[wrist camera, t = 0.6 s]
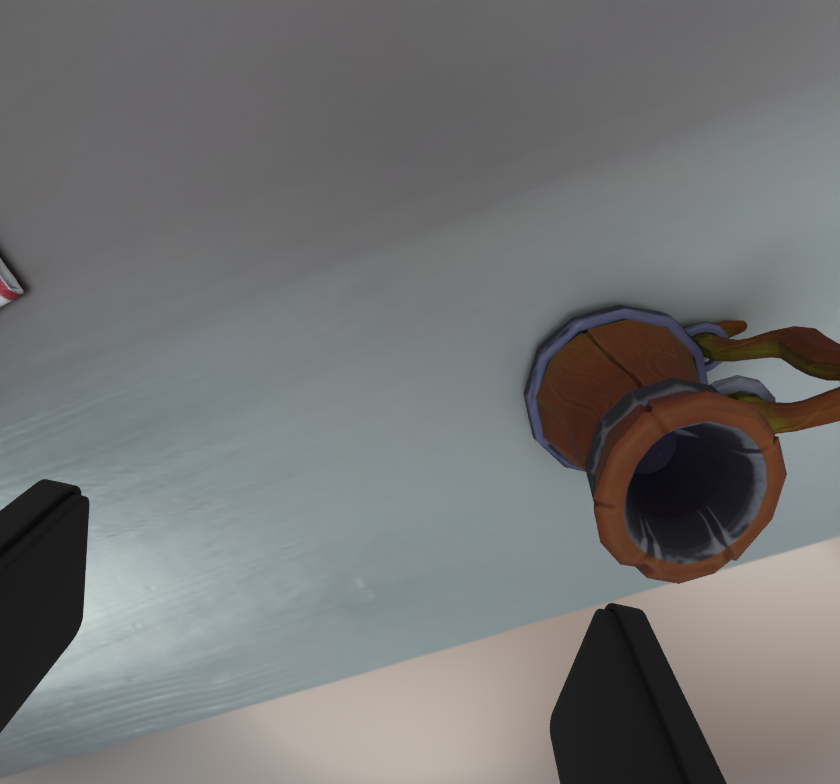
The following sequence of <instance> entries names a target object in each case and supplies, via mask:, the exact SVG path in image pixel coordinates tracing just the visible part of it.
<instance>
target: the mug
mask: <svg viewBox="0 0 840 784" xmlns="http://www.w3.org/2000/svg"><path fill="white" fill-rule="evenodd" d="M746 329H747V323H746V322H745V321H723V322H721V323H718V324H715V325H714V324H710V323H706V322H705V323H701V324H696V325H692V326H689V327H687V328H684V329H683V328H682V327H681V326H680V325H679V324H678V323H677V322H676V321H675V320H674V319H673V318H672V317H671V316H670V315H668V314H665V313H662V312H657V311H651V310H644V309H638V308H632V307H625V306H615V307H611V308H608V309H604V310H601V311H598V312H594V313H591V314H587V315H584V316H580V317H577V318H573V319H571V320H570V321H569V322H568V323H567V324H565V325H564V326H563V327H562V328H561V329H560V330H558V331H557V332H556V333H555V334H554V335H553V336H551V337H550V338H549V339H548V340H547V341H546V342H544V343H543V344H542V345H541V346H540V347H539V348H537V351H536V354H535V357H534V361H533V364H532V367H531V371H530V374H529V378H528V381H527V384H526V388H525V391H524V397H525V402H526V406H527V411H528V416H529V420H530V425H531V430H532V435H533V437H534V439H535V440H536V441H537V442H538V443H540V444H541V445H542V446H543V447H544V448H545V449H546V450H547V451H548V452H549V453H550V454H551V455H552V456H553V457H555V458H556V459H557V460H558V461H559V462H560V463H561V464H562V465H563V466H564V467H567V468H572V469H576V470H581V471H585V472H586V473H587V477H588V481H589V485H590V489H591V493H592V497H593V501H594V514H595V518H596V523H597V528H598V533H599V538H600V542H601V544H602V545H603V546H604V547H605V548H606V549H607V550H608V551H609V552H610V553H611V555H612V556H613V557H614V558H615V559H616V560H617V561H618V562H619V563H620V564H621V565H628V566H635V567H636V568H637V569H638V570H639V571H640V572H641V573H642V574H644V575H645V576H646V577H647V578H650V579H656V580H662V581H667V582H673V583H678V584H679V583H683V582H686V581H690V580H693V579H696V578H700V577H703V576H707V575H710V574H714V573H716V572H717V571H718V570H719V569H720V568H722V567H723V566H724V565H725V564H726V563H728V562H729V561H730V560H731V559H732V560H737V559H738V558H739V557H740V556H741V555H742V553H743V552H744V551H745V550H746V549H747V548H748V546H749V545H750V544H751V543H752V542H753V541H754V540H755V538H756V537H757V536H758V535H759V534H760V533H761V531H762V530H763V529H764V528H765V527H766V526H767V525H768V523H769V522H770V521H771V520H772V518H773V515H774V512H775V509H776V506H777V503H778V500H779V497H780V494H781V490H782V487H783V484H784V481H785V478H786V475H787V473H786V469H785V464H784V460H783V455H782V451H781V446H780V442H779V437H776V436H775V434H776V433H785V432H793V431H799V430H803V429H807V428H811V427H815V426H820V425H824V424H829V423H833V422H837V421H840V387H838V388H835V389H833V390H830V391H827V392H825V393H822V394H819V395H816V396H814V397H811V398H808V399H806V400H803V401H798V402H793V403H776V402H775V397H774V396H773V395H772V394H771V393H770V392H769V390H768V389H767V388H766V387H765V386H764V385H763V384H762V383H761V382H760V381H759V380H756V379H752V378H747V377H743V376H739V375H736V376H733V377H729V378H726V379H722V380H719V381H715V382H713V383H712V384H710V385H708V381H707V375H706V372H708V371H709V370H711V369H713V368H714V367H716V366H717V365H718V364H720V363H721V362H723V361H741V360H749V359H758V358H769V357H773V358H781V359H783V360H784V361H786V362H787V363H789V364H790V365H792V366H793V367H794V368H796V369H798V370H800V371H801V372H803V373H805V374H807V375H809V376H813V377H817V378H820V379H824V380H835V381H840V344H838V343H836V342H835V341H833V340H831V339H829V338H828V337H826V336H825V335H823V334H822V333H821V332H819V331H818V330H816V329H815V328H806V327H797V326H793V327H789V328H784V329H779V330H774V331H770V332H767V333H763V334H760V335H757V336H754V337H751V338H748V339H741V340H733V339H728V338H730V337H732V336H735V335H737V334H739V333H742V332H744V331H745V330H746ZM693 335H694V336H693ZM692 336H693V338H692ZM704 357H706V358H708V359H710V360H709V361H707V362H704Z"/></svg>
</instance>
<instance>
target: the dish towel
mask: <svg viewBox="0 0 840 784" xmlns="http://www.w3.org/2000/svg"><path fill="white" fill-rule="evenodd" d="M22 294H23V289H22V288H21V287H20V285H19V284H18V282H17V280H16V278H15V277H14V276H13V275H12V274H11V272H10V271H9V270H8V268H7V267H6V265H5V264H4V263H3V261H2V259H1V258H0V307H2V306H4V305H5V304H7V303H9V302H11V301H13V300H15V299H17V298H18V297H20V296H21V295H22Z"/></svg>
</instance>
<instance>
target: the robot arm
mask: <svg viewBox="0 0 840 784" xmlns="http://www.w3.org/2000/svg"><path fill="white" fill-rule="evenodd" d="M88 519H89V500H88V498H87V497H85V496H81V490H80V488H79V487H78V486H75V485H70V484H66V483H61V482H56V481H52V480H47V479H43V480H40V481H39V482H37V483H36V484H34V485H33V486H32V487H31V488H29V489H28V490H27V491H25V492H24V493H23V494H21V495H20V496H19V497H18V498H16V499H15V500H14V501H12V502H11V503H10V504H9V505H7V506H6V507H5V508H3V509H2V510H1V511H0V733H1V731H2V730H3V729H4V728H5V726H6V725H7V724H8V722H9V721H10V720H11V719H12V717H13V716H14V715H15V713H16V712H17V711H18V710H19V708H20V707H21V706H22V704H23V703H24V702H25V701H26V699H27V698H28V697H29V695H30V694H31V693H32V692H33V690H34V689H35V688H36V687H37V685H38V684H39V683H40V681H41V680H42V679H43V678H44V676H45V675H46V674H47V672H48V671H49V670H50V669H51V667H52V666H53V665H54V663H55V662H56V661H57V660H58V658H59V657H60V656H61V654H62V653H63V652H64V651H65V649H66V648H67V647H68V645H69V644H70V643H71V642H72V640H73V639H74V637H75V636H76V634H77V632H78V630H79V628H80V626H81V622H82V618H83V607H84V589H85V571H86V554H87V536H88ZM550 735H551V741H552V745H553V750H554V755H555V760H556V765H557V770H558V775H559V780H560V784H726V782H725V779H724V777H723V775H722V773H721V771H720V769H719V767H718V765H717V763H716V761H715V759H714V756H713V754H712V752H711V750H710V748H709V746H708V744H707V742H706V740H705V738H704V736H703V734H702V731H701V729H700V727H699V725H698V723H697V721H696V719H695V717H694V715H693V713H692V711H691V709H690V706H689V705H688V703H687V701H686V699H685V696H684V694H683V692H682V690H681V688H680V686H679V684H678V682H677V680H676V678H675V676H674V674H673V671H672V669H671V667H670V665H669V664H668V661H667V659H666V657H665V655H664V653H663V651H662V649H661V646H660V644H659V642H658V640H657V638H656V636H655V634H654V632H653V630H652V628H651V626H650V623H649V621H648V619H647V617H646V615H645V614H644V612H643V611H642V610H640V609H637V608H633V607H628V606H623V605H619V604H614V603H610V604H608V605H607V606H606V608H605V609H598V610H597V611H596V612H595V614H594V616H593V618H592V621H591V623H590V625H589V628H588V630H587V632H586V635H585V637H584V639H583V642H582V644H581V646H580V649H579V651H578V653H577V656H576V658H575V660H574V663H573V665H572V668H571V670H570V673H569V675H568V677H567V679H566V682H565V684H564V686H563V689H562V691H561V693H560V696H559V698H558V701H557V703H556V705H555V707H554V710H553V712H552V716H551V720H550Z"/></svg>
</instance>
